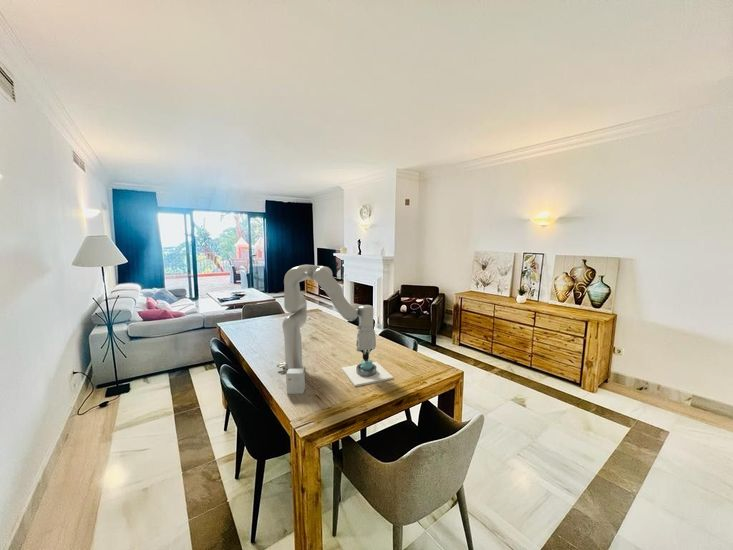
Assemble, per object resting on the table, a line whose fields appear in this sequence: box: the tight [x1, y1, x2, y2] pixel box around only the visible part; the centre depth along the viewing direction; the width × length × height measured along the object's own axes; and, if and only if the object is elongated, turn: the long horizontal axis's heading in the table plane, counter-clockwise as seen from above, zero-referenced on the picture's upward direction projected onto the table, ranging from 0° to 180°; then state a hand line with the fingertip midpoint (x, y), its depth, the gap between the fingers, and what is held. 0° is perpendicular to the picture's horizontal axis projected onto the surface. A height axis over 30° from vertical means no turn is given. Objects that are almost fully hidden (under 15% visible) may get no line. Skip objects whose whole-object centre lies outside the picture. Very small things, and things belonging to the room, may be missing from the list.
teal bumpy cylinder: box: [360, 359, 374, 370], centre depth 164 cm, size 7×6×6 cm
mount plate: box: [341, 361, 394, 388], centre depth 165 cm, size 22×22×1 cm
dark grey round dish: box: [356, 362, 376, 377], centre depth 164 cm, size 11×11×3 cm
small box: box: [285, 368, 306, 395], centre depth 145 cm, size 8×6×10 cm
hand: (365, 360), depth 164 cm, fingers closed
